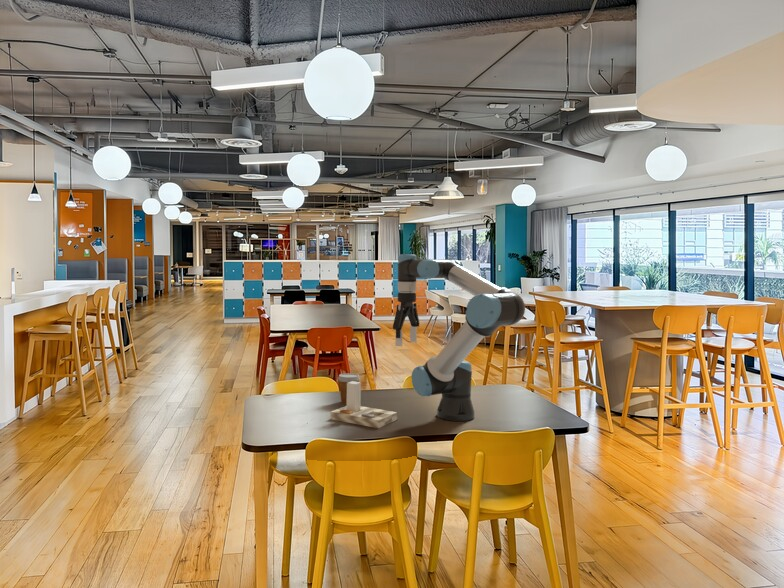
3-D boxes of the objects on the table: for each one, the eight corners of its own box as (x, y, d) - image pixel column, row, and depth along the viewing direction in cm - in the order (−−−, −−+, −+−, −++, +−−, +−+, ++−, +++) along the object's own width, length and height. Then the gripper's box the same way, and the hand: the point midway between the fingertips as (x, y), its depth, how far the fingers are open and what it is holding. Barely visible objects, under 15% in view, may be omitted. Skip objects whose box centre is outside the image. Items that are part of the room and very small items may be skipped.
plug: (360, 417, 246) (360, 382, 245) (354, 419, 242) (355, 384, 241) (351, 415, 248) (352, 381, 247) (346, 417, 244) (346, 382, 243)
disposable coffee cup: (362, 401, 272) (362, 374, 271) (355, 406, 263) (355, 378, 262) (342, 399, 275) (342, 372, 274) (334, 404, 266) (334, 376, 265)
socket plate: (397, 419, 243) (397, 410, 243) (378, 428, 231) (379, 418, 231) (350, 411, 254) (350, 402, 254) (330, 419, 242) (330, 409, 242)
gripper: (411, 290, 265) (410, 340, 266) (384, 293, 242) (384, 347, 244) (427, 291, 261) (426, 341, 262) (401, 293, 239) (401, 348, 240)
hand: (406, 344), depth 253 cm, fingers open, 13 cm apart
